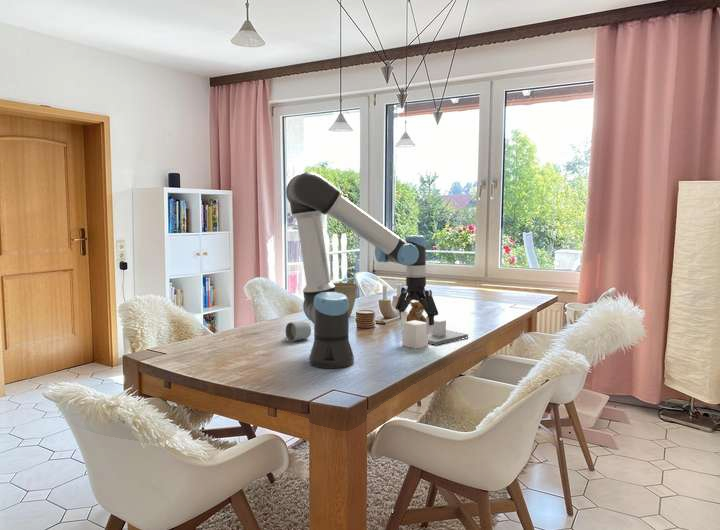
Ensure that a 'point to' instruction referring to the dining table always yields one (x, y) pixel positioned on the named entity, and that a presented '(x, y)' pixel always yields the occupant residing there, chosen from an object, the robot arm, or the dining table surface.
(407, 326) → the white rounded cube
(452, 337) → the post base
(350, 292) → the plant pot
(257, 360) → the dining table surface
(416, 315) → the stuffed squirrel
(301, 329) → the ceramic mug
